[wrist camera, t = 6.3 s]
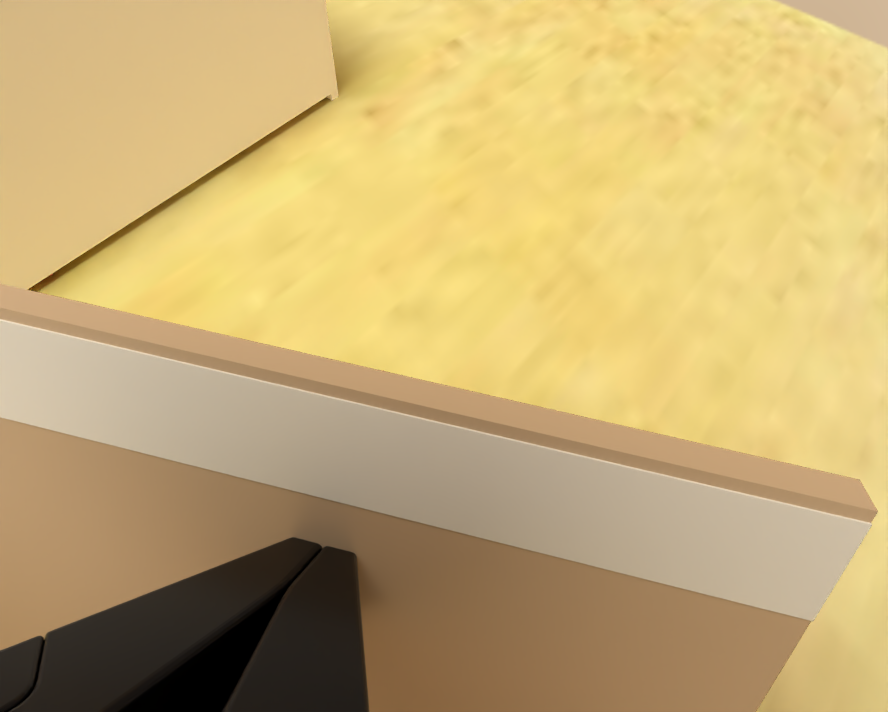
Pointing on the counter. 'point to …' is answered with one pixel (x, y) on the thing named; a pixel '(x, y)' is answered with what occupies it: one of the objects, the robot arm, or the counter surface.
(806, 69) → the counter surface
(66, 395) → the flap
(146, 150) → the white channel bracket
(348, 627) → the robot arm
